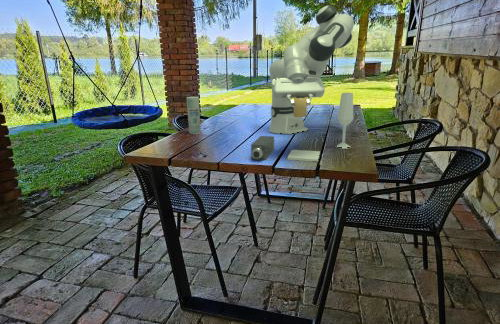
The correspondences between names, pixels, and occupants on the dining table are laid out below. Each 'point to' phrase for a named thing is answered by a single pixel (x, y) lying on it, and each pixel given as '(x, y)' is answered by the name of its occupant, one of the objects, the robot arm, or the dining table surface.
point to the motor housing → (262, 147)
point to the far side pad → (303, 155)
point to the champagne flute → (345, 114)
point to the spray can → (193, 115)
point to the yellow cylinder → (300, 106)
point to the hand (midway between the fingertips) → (300, 104)
